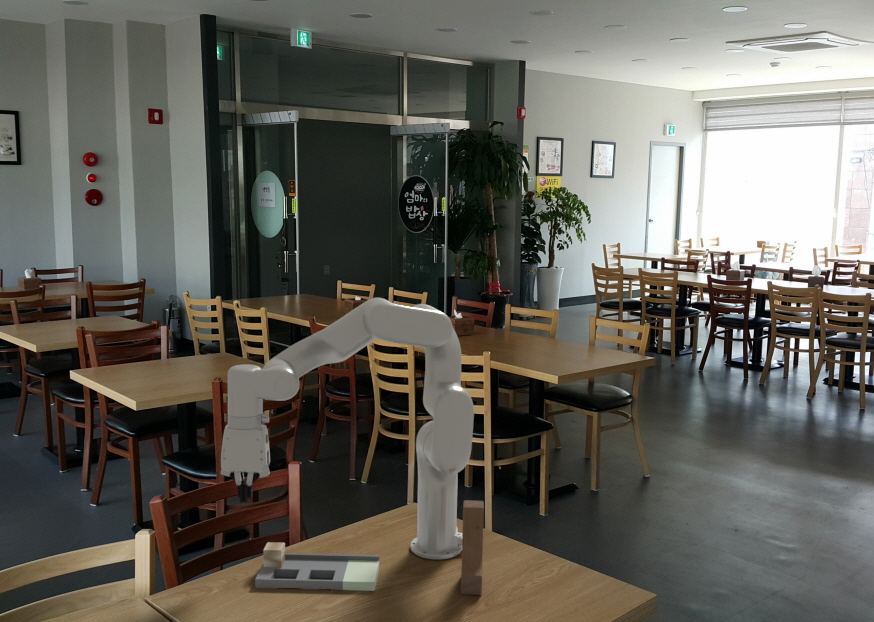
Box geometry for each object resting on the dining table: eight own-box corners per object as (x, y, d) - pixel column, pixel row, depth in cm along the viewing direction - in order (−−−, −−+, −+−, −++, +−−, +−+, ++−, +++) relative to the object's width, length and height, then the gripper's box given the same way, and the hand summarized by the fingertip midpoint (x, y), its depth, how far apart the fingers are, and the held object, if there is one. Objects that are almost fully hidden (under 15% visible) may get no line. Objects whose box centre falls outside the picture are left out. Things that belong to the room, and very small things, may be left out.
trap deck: (379, 567, 184) (379, 555, 183) (374, 590, 173) (375, 577, 172) (266, 564, 184) (266, 552, 183) (255, 587, 173) (255, 574, 173)
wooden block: (481, 595, 171) (483, 516, 169) (460, 595, 172) (462, 515, 169) (481, 576, 180) (483, 500, 178) (461, 575, 181) (463, 499, 178)
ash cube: (285, 559, 182) (284, 542, 182) (281, 567, 178) (281, 550, 178) (267, 558, 182) (267, 542, 182) (263, 566, 179) (263, 550, 178)
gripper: (282, 417, 179) (282, 495, 182) (216, 415, 180) (216, 493, 182) (275, 427, 172) (275, 508, 175) (206, 424, 172) (206, 505, 175)
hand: (245, 500), depth 178 cm, fingers closed
